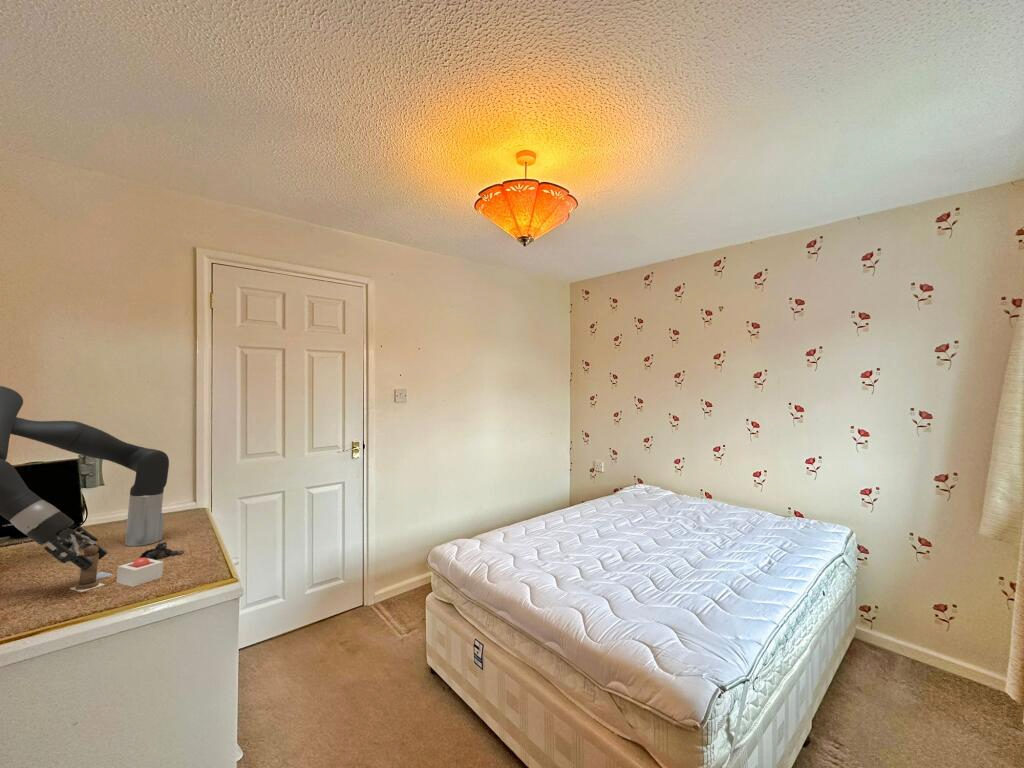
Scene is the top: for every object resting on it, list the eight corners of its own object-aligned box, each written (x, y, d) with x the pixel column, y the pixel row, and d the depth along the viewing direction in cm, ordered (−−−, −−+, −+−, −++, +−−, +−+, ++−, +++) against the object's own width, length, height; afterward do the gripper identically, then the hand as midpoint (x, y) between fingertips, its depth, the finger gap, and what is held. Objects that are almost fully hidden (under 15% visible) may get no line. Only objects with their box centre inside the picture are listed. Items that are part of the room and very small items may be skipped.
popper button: (143, 574, 119) (145, 554, 119) (152, 576, 118) (154, 556, 118) (126, 579, 115) (128, 559, 116) (136, 581, 114) (138, 561, 114)
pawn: (92, 581, 114) (96, 541, 115) (102, 584, 113) (107, 544, 113) (71, 588, 110) (75, 546, 111) (81, 591, 108) (86, 548, 109)
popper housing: (145, 574, 121) (147, 558, 121) (162, 577, 119) (163, 561, 119) (116, 583, 114) (118, 566, 115) (133, 587, 112) (134, 570, 112)
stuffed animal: (142, 569, 124) (137, 538, 131) (136, 591, 127) (131, 560, 134) (191, 558, 134) (183, 530, 140) (184, 579, 137) (177, 551, 143)
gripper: (42, 526, 113) (94, 564, 117) (9, 541, 100) (68, 583, 105) (71, 505, 116) (121, 542, 120) (42, 517, 103) (99, 559, 107)
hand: (96, 561), depth 112 cm, fingers open, 8 cm apart
